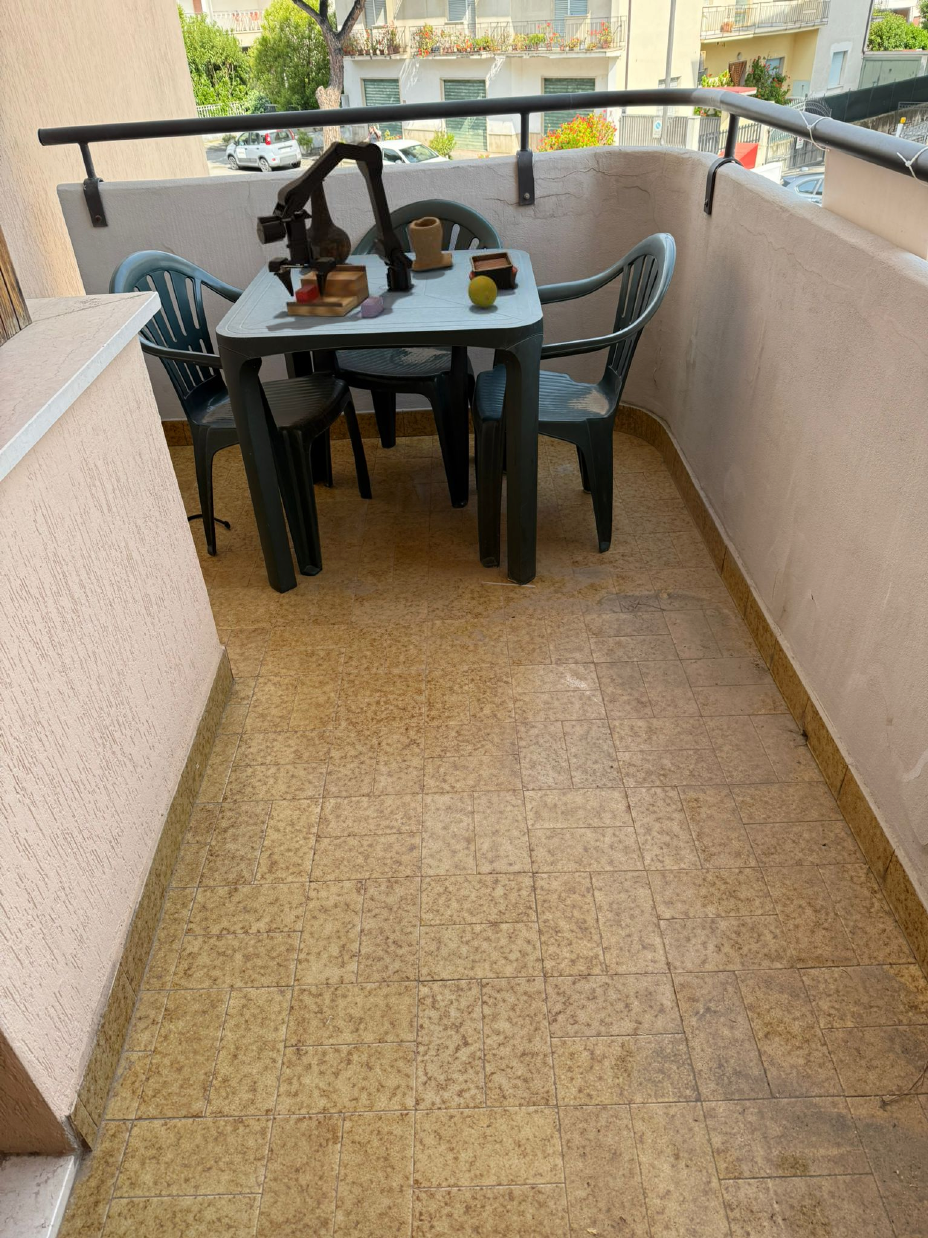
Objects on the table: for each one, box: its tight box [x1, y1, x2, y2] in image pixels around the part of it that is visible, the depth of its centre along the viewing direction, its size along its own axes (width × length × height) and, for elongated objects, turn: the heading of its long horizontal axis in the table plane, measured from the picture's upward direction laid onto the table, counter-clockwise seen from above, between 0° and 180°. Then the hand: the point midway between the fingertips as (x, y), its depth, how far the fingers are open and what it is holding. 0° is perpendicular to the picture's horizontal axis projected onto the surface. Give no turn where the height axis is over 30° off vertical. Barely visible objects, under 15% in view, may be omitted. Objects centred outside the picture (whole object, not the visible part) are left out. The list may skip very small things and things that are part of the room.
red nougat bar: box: [294, 284, 319, 302], centre depth 239 cm, size 4×8×3 cm, turn 164°
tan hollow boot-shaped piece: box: [408, 216, 453, 272], centre depth 265 cm, size 15×12×15 cm
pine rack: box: [285, 264, 370, 317], centre depth 241 cm, size 17×20×8 cm
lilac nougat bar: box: [359, 296, 384, 318], centre depth 233 cm, size 4×8×3 cm, turn 164°
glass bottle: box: [306, 178, 352, 265], centre depth 273 cm, size 18×18×28 cm
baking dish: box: [468, 251, 519, 291], centre depth 248 cm, size 14×18×10 cm
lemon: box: [467, 276, 498, 308], centre depth 231 cm, size 11×8×8 cm
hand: (307, 296), depth 240 cm, fingers open, 9 cm apart
